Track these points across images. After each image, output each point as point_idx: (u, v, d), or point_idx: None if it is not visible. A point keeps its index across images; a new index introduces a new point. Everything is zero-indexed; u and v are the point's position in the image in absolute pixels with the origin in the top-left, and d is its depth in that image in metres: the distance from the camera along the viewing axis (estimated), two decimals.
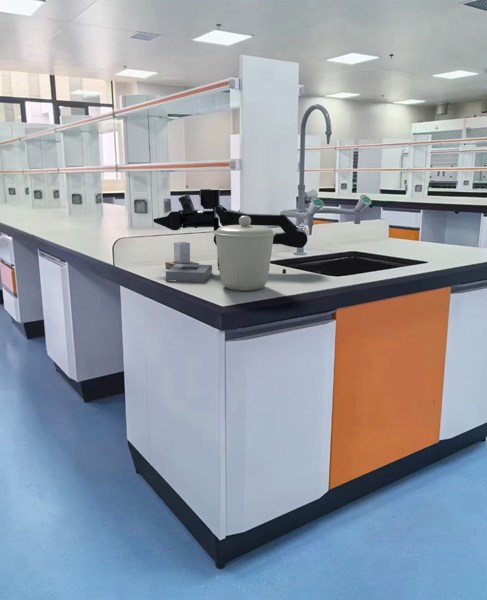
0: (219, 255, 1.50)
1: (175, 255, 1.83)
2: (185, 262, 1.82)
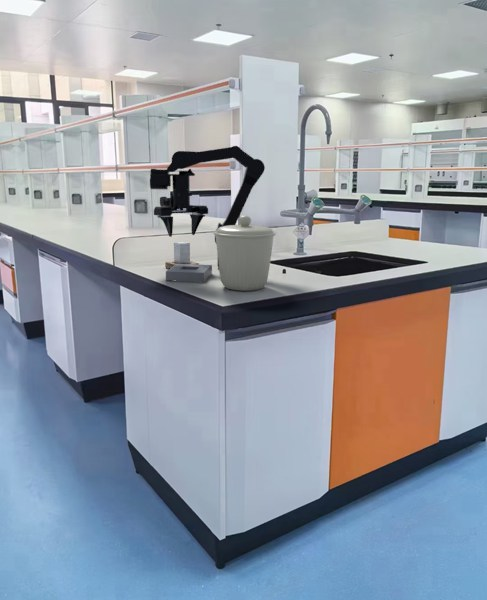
0: (219, 255, 1.50)
1: (175, 255, 1.83)
2: (185, 262, 1.82)
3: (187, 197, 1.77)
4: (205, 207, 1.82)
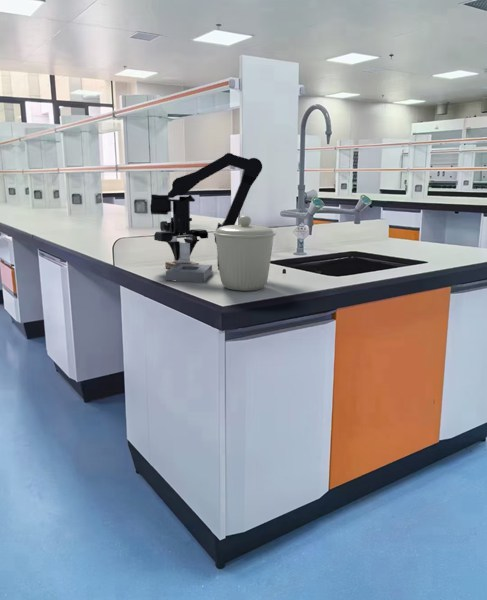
0: (219, 255, 1.50)
1: None
2: (185, 262, 1.82)
3: (187, 222, 1.79)
4: (205, 231, 1.84)
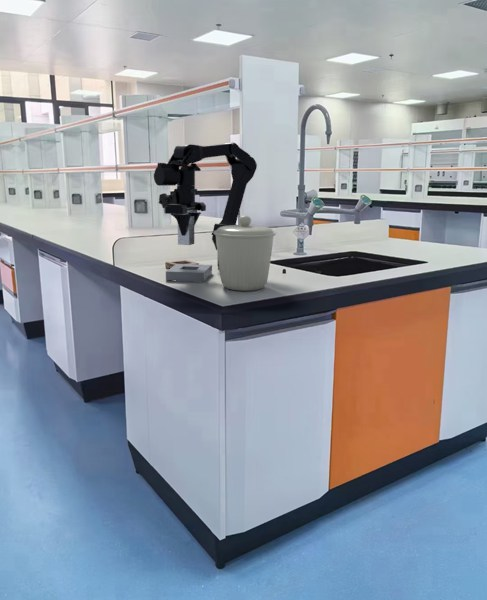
0: (219, 255, 1.50)
1: None
2: (191, 237, 1.70)
3: (194, 193, 1.67)
4: (203, 204, 1.75)
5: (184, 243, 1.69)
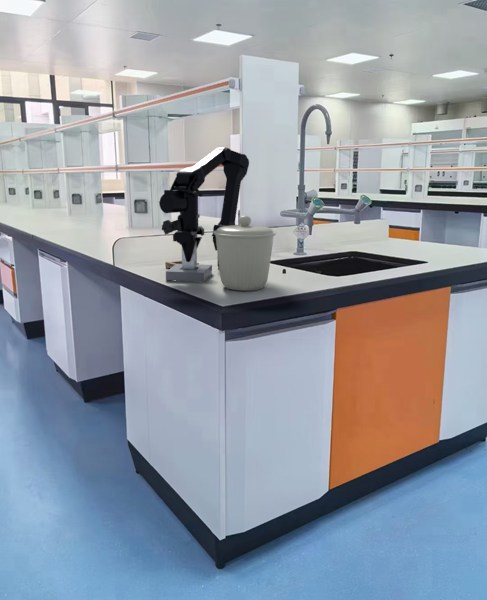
0: (219, 255, 1.50)
1: (184, 256, 1.66)
2: (195, 262, 1.68)
3: None
4: (202, 228, 1.73)
5: (189, 269, 1.67)
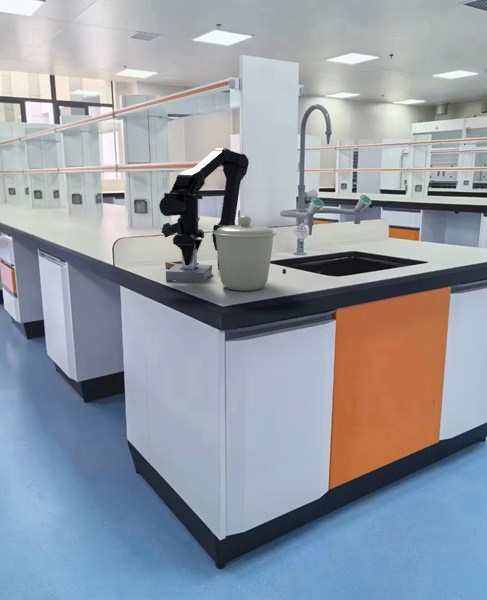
0: (219, 255, 1.50)
1: (184, 263, 1.66)
2: None
3: None
4: (202, 231, 1.73)
5: None
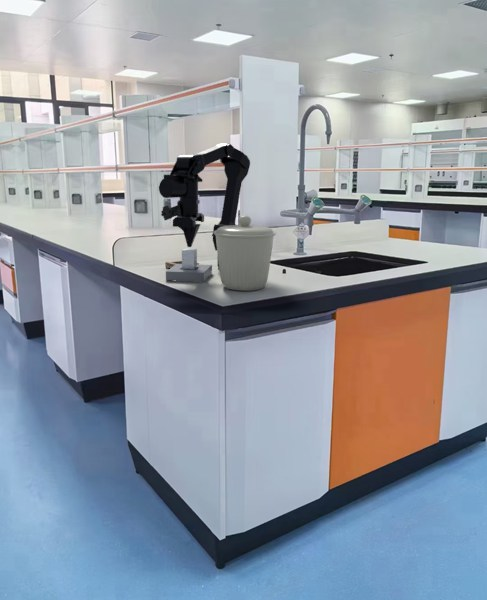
0: (219, 255, 1.50)
1: (184, 263, 1.66)
2: None
3: None
4: (202, 214, 1.72)
5: None
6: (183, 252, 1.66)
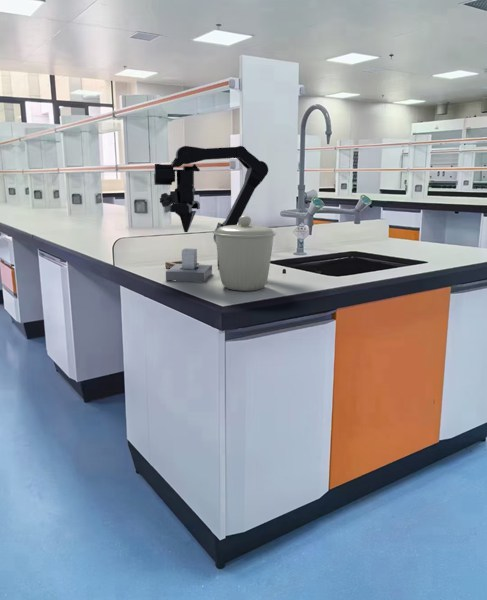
0: (219, 255, 1.50)
1: (184, 263, 1.66)
2: None
3: (193, 192, 1.76)
4: (198, 202, 1.84)
5: None
6: (183, 252, 1.66)
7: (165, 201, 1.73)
